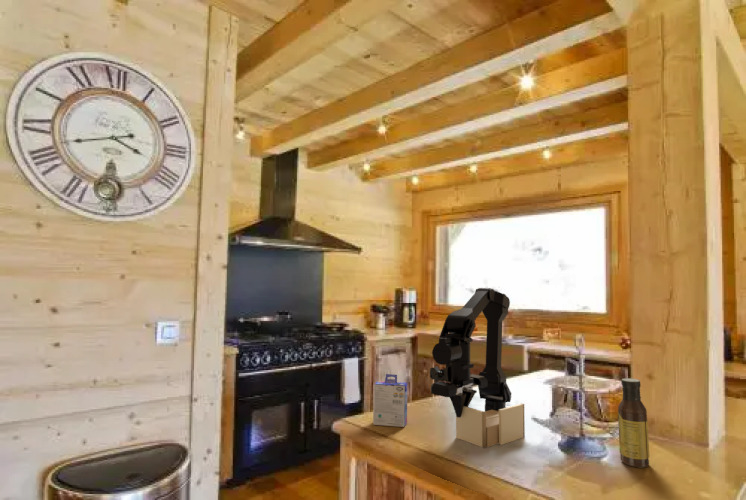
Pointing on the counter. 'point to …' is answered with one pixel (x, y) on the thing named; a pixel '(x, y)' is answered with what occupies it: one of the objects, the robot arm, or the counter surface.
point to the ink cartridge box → (390, 402)
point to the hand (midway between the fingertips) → (460, 416)
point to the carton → (492, 427)
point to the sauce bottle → (633, 426)
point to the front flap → (472, 426)
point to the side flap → (511, 423)
